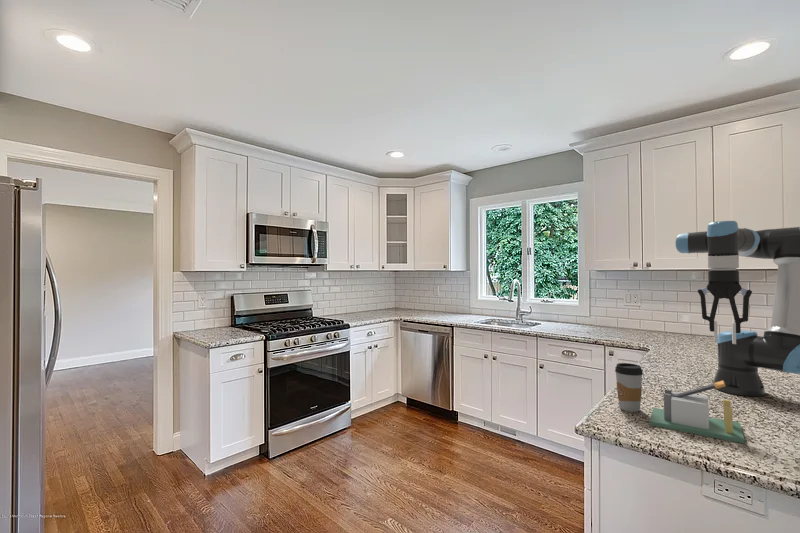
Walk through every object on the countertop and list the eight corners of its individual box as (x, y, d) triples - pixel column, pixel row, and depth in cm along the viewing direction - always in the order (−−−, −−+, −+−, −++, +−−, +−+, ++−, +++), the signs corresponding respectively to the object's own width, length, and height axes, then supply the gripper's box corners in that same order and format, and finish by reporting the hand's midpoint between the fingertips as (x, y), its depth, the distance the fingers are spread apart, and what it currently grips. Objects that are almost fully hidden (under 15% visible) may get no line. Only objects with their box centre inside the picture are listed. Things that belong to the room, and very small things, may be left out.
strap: (666, 402, 119) (664, 399, 120) (667, 398, 123) (665, 395, 123) (725, 386, 111) (723, 383, 111) (724, 382, 114) (722, 379, 115)
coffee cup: (610, 405, 136) (609, 363, 136) (632, 404, 136) (631, 362, 136) (626, 414, 127) (625, 369, 127) (649, 412, 128) (648, 368, 128)
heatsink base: (649, 424, 118) (648, 395, 118) (653, 411, 129) (652, 384, 129) (744, 443, 105) (743, 410, 105) (739, 426, 116) (739, 396, 116)
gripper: (757, 269, 119) (759, 343, 119) (690, 269, 130) (691, 338, 129) (760, 269, 113) (762, 347, 113) (690, 270, 124) (691, 341, 124)
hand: (725, 342), depth 121 cm, fingers open, 4 cm apart
